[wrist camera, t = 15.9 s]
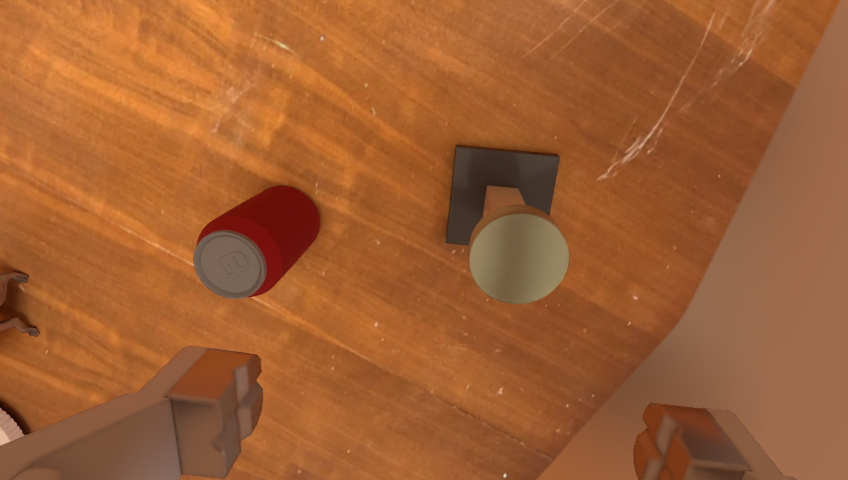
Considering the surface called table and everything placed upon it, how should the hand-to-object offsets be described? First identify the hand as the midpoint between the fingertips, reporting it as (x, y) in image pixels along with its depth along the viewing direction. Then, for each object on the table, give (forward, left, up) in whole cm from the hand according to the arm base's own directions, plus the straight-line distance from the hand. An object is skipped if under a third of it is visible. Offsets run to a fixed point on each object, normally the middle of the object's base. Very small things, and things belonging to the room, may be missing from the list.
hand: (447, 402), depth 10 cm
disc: (-4, +4, -20) cm, 21 cm away
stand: (-4, +4, -33) cm, 34 cm away
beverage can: (+16, +8, -33) cm, 38 cm away
